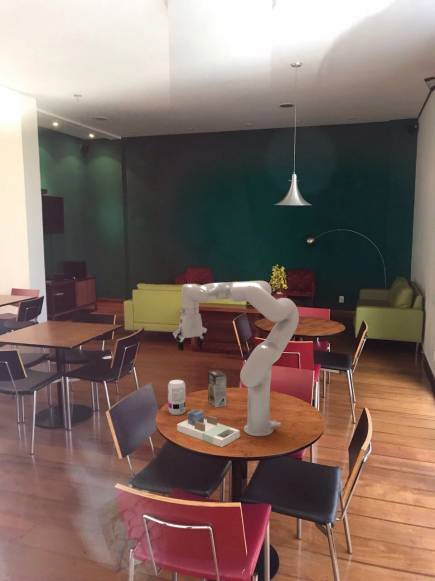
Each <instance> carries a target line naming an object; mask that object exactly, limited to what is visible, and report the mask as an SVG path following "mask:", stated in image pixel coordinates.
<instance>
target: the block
mask: <svg viewBox="0 0 435 581" xmlns="http://www.w3.org/2000/svg"><path fill="white" fill-rule="evenodd" d="M204 419H205V412H204V411H203V410H199V409H196V408H195V409H192V410H190V411H188V412H187V420H188V424H191V425H194V426H195V421H198V422H201V423H204Z"/></svg>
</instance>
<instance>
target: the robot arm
mask: <svg viewBox="0 0 435 581" xmlns="http://www.w3.org/2000/svg"><path fill="white" fill-rule="evenodd" d="M214 300H232V301H233V302H237V303H239V302H248V303H249V304H250V305H251V306H252V307H254V309H255V310H257V312H259V313H260V314H262V316H264V318H266V319H267V320H269V321H270V322H273V323H275V324H274V326H273V328H272V329H271V331H270V332H269V334H268V335H267V337H266V338H265V340H264V341H263V342H260V343H259V344H257V346H256V347H255V348H254V349H252V350H253V351H252V352H251V353H250V355H249V357H248V358H247V360H246V362H245V363H244V365H243V367H242V368H241V370H240V374H239V377H240V381H241V383H242V385H243V386H245V387H246V388H247V423H246V424H245V425H244V426H243V431H244V433H245V434H247V435H250V436H251V437H266V436H269V435H271V434H272V433H273V432H274V428H279V427H281V424H282V423H281V422H280V421H277V420H271V419H270V418H271V416H270V415H271V411H270V408H271V406H270V405H271V397H270V396H271V379H272V366H273V365H274V364H275V363H276V362H277V361H278V360H279V359H280V358H281V356H282V354H283V352H284V350H286V348H287V346H288V344H289V342H290V340H291V339H292V337H293V336H294V334H295V332H296V331H297V327H298V324H299V321H300V314H299V310H298V308H297V306H296V304H295V302H294V301H292V299H290V298H287V297H280V298H277V299H276V298H275V297H274V296H273V295H272V286H271V285H270V283H269V282H267V281H265V280H249V281H247V280H246V281H231V282H228V281H227V282H210V283H206V284H202V285H201V284H200V285H198V284H195V283H184V284H183V285H182V287H181V309H179V313H180V316H179V317H180V318H179V324H178V325H179V326H178V329H176V330H174V331H173V332H172V335H173V336H174V339H175V340H176V341H177V342H178V343H177V345H178V346H177V347H178V350H179V351H182V352H183V351H184V340H185V339H188V338H194V337H195V338H196V347H197V348H199V349H201V348H203V347H202V346H203V339H204V337H205V336H206V333H207V331H208V328H206V327H204V326H203V322H202V315H201V313H199V312H200V309H199V308H200V303H207V302H211V301H214Z"/></svg>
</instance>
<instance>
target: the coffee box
mask: <svg viewBox="0 0 435 581" xmlns="http://www.w3.org/2000/svg"><path fill="white" fill-rule="evenodd" d="M207 402H208V403H209V404H211V406H213V408H220V407H226V406H227V374H226V373H225V372H223V371H221V370H219V369H216V370H215V369H213V370H208V371H207Z"/></svg>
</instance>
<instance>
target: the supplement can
mask: <svg viewBox="0 0 435 581" xmlns="http://www.w3.org/2000/svg"><path fill="white" fill-rule="evenodd" d="M186 399H187V398H186V383H185V381H184V380H182V379H172V380H169V382H168V384H167V400H168V401H167V402H168V403H167V404H168V405H167V406H168V407H167V408H168V413H169V414H170V415H172V416H173V415H175V416H179V415H183V414H185V412H186V411H187V404H186V401H187V400H186Z"/></svg>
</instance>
